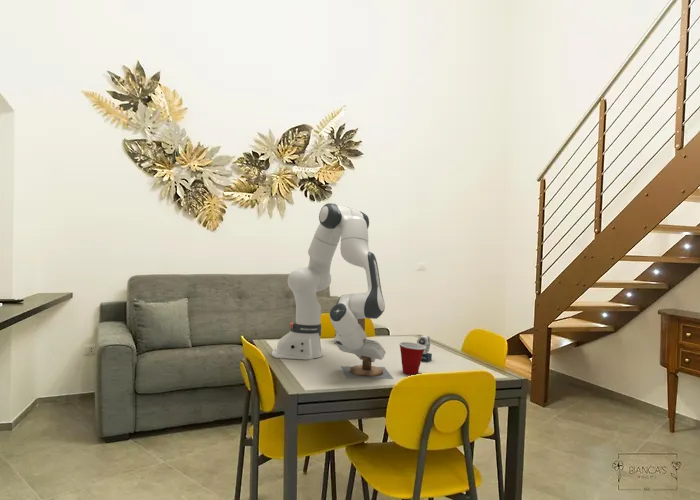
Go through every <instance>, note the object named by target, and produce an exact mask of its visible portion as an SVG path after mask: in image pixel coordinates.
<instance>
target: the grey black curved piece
mask: <svg viewBox="0 0 700 500" xmlns="http://www.w3.org/2000/svg"><path fill="white" fill-rule="evenodd" d="M416 343H417V344H421V345H424V346H425V347H426V348H425V350H424V352H423V354H422V359H421V362H424V363H429V362H432V355H433V354H432V353H431V352H430V353H429V351H430V347H431V338H430V336H429V335H421V336H420V337H419V338H418V339H417V340H416Z"/></svg>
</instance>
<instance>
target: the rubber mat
mask: <svg viewBox="0 0 700 500" xmlns="http://www.w3.org/2000/svg"><path fill="white" fill-rule="evenodd" d="M351 367H353V366H351V365H350V366H343V365H342V366H341V369H342V371H343V373H344V375H345V378H346V379H368V380H369V379H372V380H375V379H377V380H378V379H380V380H385V379H386V380H389V379H390V380H394V377H393V376H392V375H391V374H390V372H389V371H388V370H387V368H386V367H385V366H378V367H379V368H381V369H383V374H382V375H380V376H374V377H366V376H358V375H354V374H352V373H351V372H350V368H351Z"/></svg>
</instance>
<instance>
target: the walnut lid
mask: <svg viewBox="0 0 700 500" xmlns="http://www.w3.org/2000/svg"><path fill="white" fill-rule="evenodd" d="M369 359H370V357H366V356H363V360H361V362H362V364H361V365H360V364H359V365H353V366H352V367H351V368H350V372H351V373H352V374H354V375H358V376H366V377H374V376H380V375H382V374H383V369H381V368H379V367H380V366H374V365H372V364H373V362H370V360H369Z"/></svg>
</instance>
